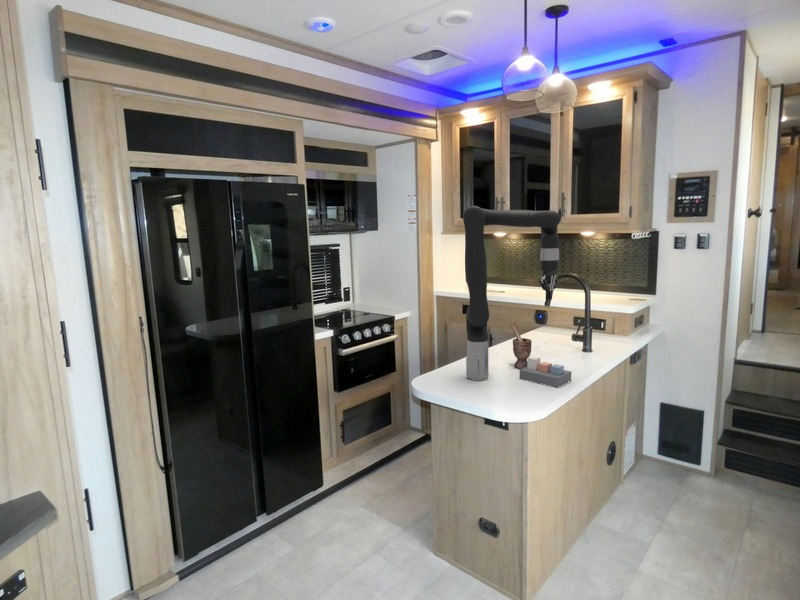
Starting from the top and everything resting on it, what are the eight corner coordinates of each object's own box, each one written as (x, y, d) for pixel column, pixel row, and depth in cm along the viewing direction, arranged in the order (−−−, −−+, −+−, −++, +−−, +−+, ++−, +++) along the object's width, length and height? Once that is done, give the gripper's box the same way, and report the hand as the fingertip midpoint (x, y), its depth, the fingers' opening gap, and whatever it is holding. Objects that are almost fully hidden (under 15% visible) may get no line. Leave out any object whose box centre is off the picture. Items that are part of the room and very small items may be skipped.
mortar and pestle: (503, 365, 229) (503, 325, 226) (513, 361, 235) (513, 322, 232) (524, 370, 221) (525, 328, 218) (534, 366, 227) (535, 325, 223)
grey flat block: (557, 387, 197) (557, 378, 196) (519, 378, 210) (519, 369, 209) (571, 380, 205) (571, 371, 205) (533, 372, 218) (533, 363, 217)
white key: (535, 370, 208) (535, 359, 207) (527, 368, 211) (527, 357, 210) (540, 368, 211) (540, 357, 210) (532, 366, 214) (532, 355, 213)
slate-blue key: (559, 379, 201) (559, 368, 200) (550, 377, 203) (550, 366, 203) (563, 377, 203) (563, 365, 203) (554, 375, 206) (555, 364, 205)
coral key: (547, 376, 204) (547, 365, 204) (538, 374, 207) (538, 363, 206) (551, 374, 207) (551, 363, 206) (543, 372, 210) (543, 361, 209)
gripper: (550, 260, 193) (549, 302, 196) (565, 258, 202) (564, 298, 205) (533, 259, 199) (532, 300, 201) (549, 257, 208) (548, 296, 211)
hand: (548, 299), depth 203 cm, fingers closed
